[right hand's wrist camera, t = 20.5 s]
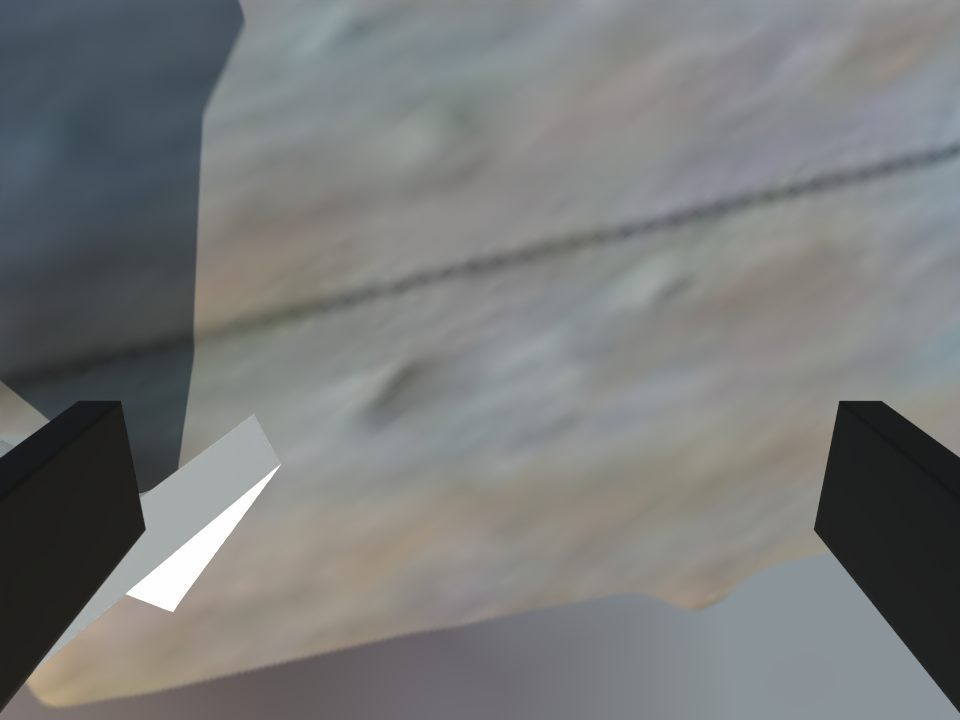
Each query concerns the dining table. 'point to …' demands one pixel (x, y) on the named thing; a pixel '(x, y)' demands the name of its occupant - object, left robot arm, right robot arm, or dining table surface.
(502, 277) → the dining table surface
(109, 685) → the dining table surface
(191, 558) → the white plastic object
